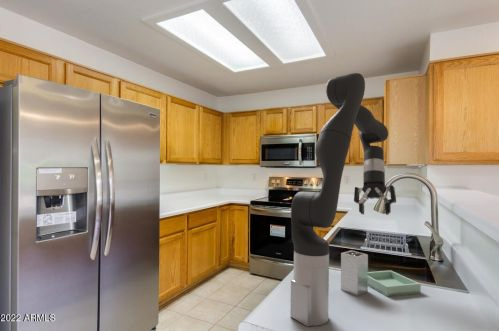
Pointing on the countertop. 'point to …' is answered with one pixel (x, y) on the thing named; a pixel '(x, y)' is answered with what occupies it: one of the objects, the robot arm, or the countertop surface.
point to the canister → (354, 272)
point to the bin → (392, 283)
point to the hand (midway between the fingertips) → (374, 214)
